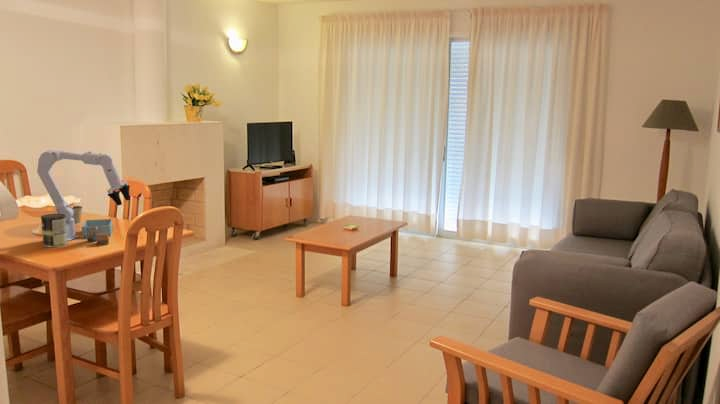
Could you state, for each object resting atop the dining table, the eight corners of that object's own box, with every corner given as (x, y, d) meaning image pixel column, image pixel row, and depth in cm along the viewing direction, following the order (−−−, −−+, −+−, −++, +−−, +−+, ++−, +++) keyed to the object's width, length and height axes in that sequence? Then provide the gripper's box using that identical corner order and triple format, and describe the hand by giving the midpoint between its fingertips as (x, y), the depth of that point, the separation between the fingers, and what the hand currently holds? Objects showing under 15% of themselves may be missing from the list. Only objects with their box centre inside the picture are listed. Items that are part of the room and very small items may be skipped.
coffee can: (41, 248, 270) (39, 218, 268) (44, 242, 279) (42, 214, 277) (66, 246, 274) (64, 217, 271) (68, 241, 283) (66, 213, 281)
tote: (110, 236, 295) (110, 225, 294) (82, 237, 291) (81, 226, 290) (113, 228, 311) (112, 218, 310) (86, 230, 307) (85, 220, 306)
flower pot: (87, 221, 329) (86, 206, 327) (75, 224, 320) (74, 209, 318) (73, 220, 331) (72, 205, 330) (61, 223, 322) (60, 208, 321)
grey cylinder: (98, 241, 284) (97, 227, 282) (87, 242, 282) (86, 228, 281) (99, 239, 288) (98, 225, 287) (88, 240, 287) (87, 226, 285)
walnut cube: (108, 244, 279) (107, 234, 278) (96, 245, 277) (96, 235, 276) (108, 242, 283) (108, 232, 282) (97, 242, 282) (97, 232, 281)
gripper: (111, 180, 283) (122, 205, 286) (127, 171, 296) (138, 196, 300) (99, 183, 285) (110, 208, 288) (116, 174, 298) (126, 199, 302)
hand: (124, 202), depth 294 cm, fingers open, 7 cm apart
